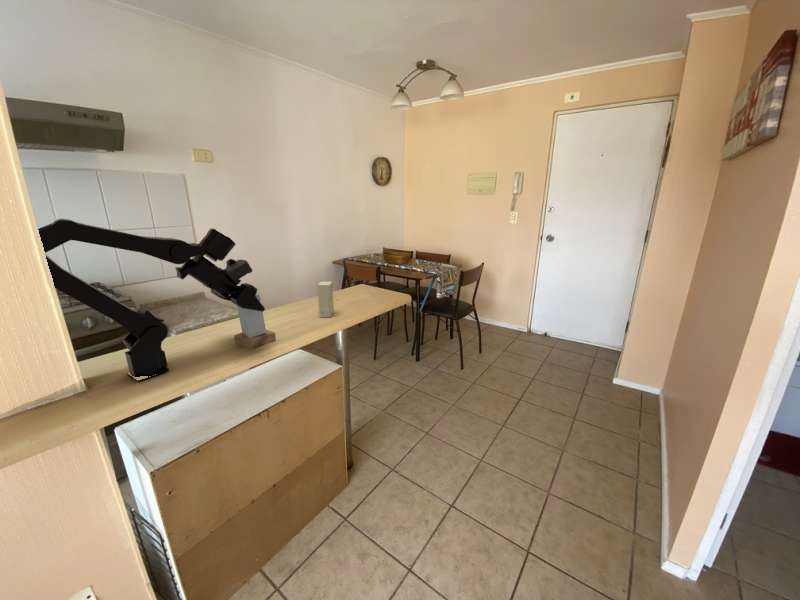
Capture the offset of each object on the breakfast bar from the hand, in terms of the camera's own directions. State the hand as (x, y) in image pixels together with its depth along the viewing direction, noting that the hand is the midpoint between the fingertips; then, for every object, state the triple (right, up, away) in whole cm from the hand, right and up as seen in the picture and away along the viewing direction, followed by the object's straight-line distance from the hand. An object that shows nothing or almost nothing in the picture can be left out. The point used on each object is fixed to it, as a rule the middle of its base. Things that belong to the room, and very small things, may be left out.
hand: (256, 306), depth 97 cm
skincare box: (+15, -4, +27) cm, 31 cm away
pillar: (-1, -8, +1) cm, 8 cm away
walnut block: (-1, -11, +2) cm, 11 cm away
